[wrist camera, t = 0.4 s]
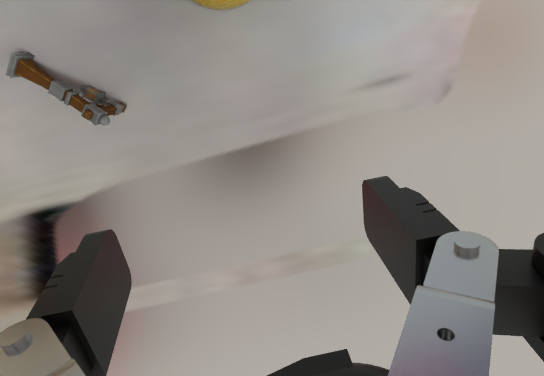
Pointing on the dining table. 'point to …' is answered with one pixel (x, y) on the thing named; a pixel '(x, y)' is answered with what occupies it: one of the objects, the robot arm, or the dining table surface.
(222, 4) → the bread roll
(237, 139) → the dining table surface
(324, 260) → the dining table surface
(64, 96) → the wooden post with brackets
